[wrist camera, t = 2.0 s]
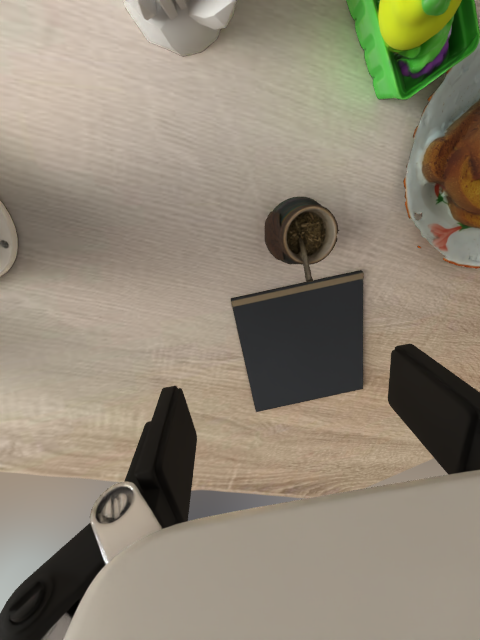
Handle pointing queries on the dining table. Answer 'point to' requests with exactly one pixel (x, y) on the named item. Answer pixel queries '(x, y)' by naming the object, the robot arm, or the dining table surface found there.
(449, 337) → the dining table surface
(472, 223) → the food on plate
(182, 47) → the crystal
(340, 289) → the mat
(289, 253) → the mate gourd
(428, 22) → the fruit basket
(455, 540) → the robot arm
